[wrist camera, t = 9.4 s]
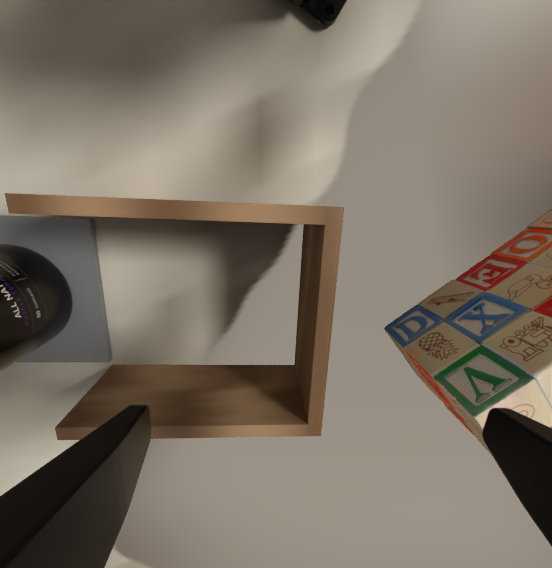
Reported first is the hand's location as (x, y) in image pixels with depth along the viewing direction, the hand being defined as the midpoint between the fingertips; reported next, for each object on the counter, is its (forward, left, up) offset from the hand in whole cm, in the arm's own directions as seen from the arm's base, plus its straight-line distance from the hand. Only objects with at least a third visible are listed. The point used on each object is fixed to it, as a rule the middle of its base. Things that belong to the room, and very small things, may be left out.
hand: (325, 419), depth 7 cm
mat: (+10, -14, -13) cm, 22 cm away
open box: (+3, -4, -13) cm, 14 cm away
